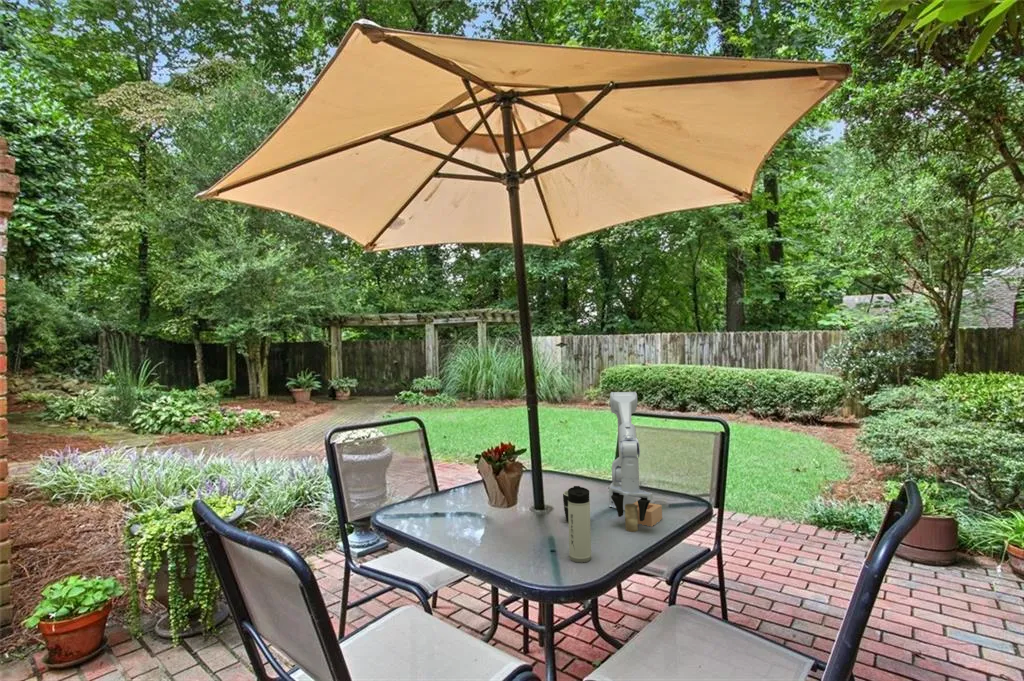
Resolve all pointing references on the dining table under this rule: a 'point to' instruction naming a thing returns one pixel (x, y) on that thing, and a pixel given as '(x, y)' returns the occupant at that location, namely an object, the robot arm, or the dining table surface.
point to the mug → (566, 504)
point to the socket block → (650, 514)
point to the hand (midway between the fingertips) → (631, 518)
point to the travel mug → (579, 524)
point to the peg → (631, 518)
